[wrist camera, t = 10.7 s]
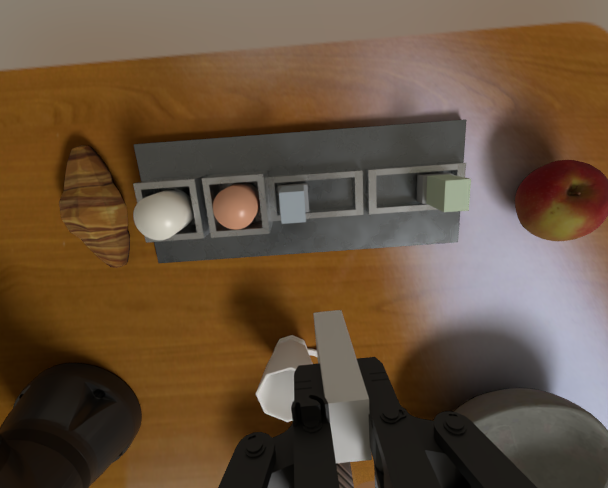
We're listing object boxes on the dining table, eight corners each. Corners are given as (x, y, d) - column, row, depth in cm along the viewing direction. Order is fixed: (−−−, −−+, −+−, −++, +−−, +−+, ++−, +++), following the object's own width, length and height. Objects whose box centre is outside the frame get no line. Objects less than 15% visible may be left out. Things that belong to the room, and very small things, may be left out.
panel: (162, 260, 39) (142, 276, 34) (138, 144, 35) (112, 144, 30) (454, 239, 38) (475, 253, 34) (461, 120, 35) (487, 116, 30)
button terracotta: (226, 220, 36) (216, 231, 32) (221, 183, 35) (209, 189, 31) (263, 217, 36) (258, 228, 32) (259, 180, 35) (253, 185, 31)
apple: (577, 160, 36) (652, 165, 28) (556, 232, 38) (619, 255, 31) (508, 155, 36) (564, 159, 28) (491, 228, 38) (538, 250, 30)
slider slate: (281, 210, 36) (277, 224, 30) (278, 184, 35) (274, 193, 29) (308, 208, 36) (310, 221, 30) (307, 182, 35) (308, 190, 29)
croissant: (56, 149, 36) (18, 150, 31) (118, 140, 35) (89, 140, 31) (97, 267, 39) (68, 284, 35) (152, 259, 39) (132, 275, 34)
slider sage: (416, 200, 36) (439, 212, 30) (417, 174, 35) (441, 181, 29) (444, 198, 36) (473, 210, 30) (445, 172, 35) (475, 178, 29)
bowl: (549, 479, 50) (595, 540, 42) (409, 483, 50) (429, 546, 42) (579, 357, 43) (638, 403, 36) (418, 362, 43) (443, 409, 36)
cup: (264, 324, 42) (256, 365, 34) (344, 328, 42) (354, 370, 34) (262, 371, 44) (254, 421, 36) (338, 375, 44) (347, 425, 36)
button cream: (159, 229, 34) (139, 241, 30) (151, 190, 33) (128, 197, 29) (197, 226, 34) (183, 238, 30) (191, 187, 33) (174, 194, 29)
